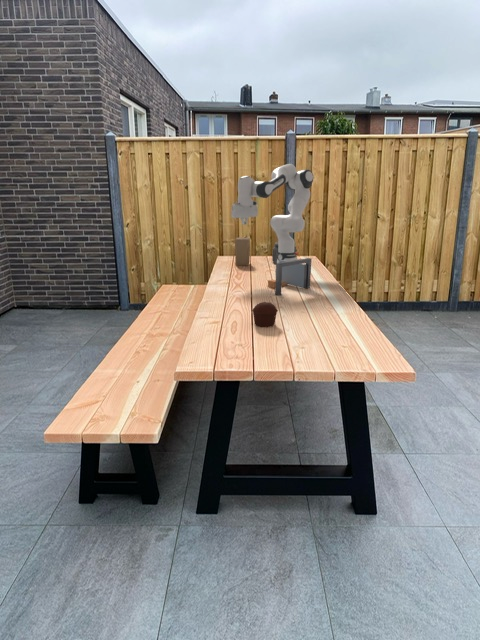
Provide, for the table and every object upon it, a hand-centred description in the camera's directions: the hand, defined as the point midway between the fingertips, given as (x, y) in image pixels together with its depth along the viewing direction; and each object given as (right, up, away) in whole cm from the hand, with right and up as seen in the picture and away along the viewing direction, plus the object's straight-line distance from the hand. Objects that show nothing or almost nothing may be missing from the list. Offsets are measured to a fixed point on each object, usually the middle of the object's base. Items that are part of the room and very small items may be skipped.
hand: (244, 224), depth 295 cm
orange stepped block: (+20, -41, -16) cm, 48 cm away
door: (+29, -40, -16) cm, 52 cm away
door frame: (+28, -45, -29) cm, 61 cm away
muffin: (+8, -64, -89) cm, 110 cm away
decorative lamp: (+32, -18, +58) cm, 69 cm away
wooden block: (-1, -20, +50) cm, 54 cm away
